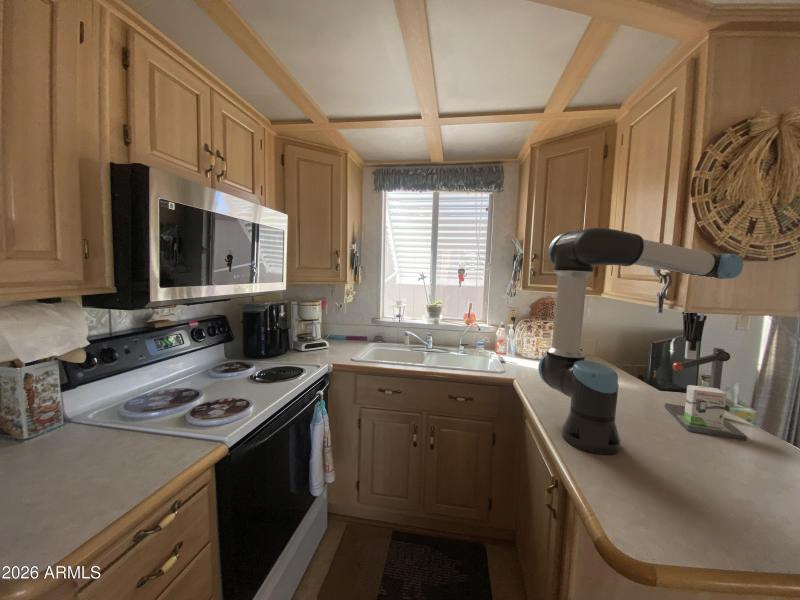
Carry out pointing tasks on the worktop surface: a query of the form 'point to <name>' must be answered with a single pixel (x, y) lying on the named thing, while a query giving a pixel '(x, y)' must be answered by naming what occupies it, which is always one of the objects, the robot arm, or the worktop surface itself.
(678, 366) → the lever
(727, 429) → the press
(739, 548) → the worktop surface
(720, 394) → the ink box
